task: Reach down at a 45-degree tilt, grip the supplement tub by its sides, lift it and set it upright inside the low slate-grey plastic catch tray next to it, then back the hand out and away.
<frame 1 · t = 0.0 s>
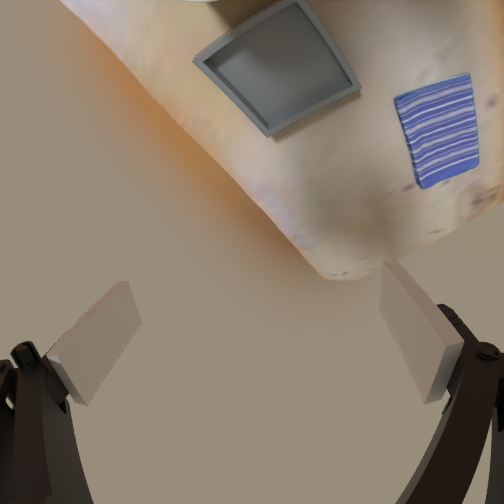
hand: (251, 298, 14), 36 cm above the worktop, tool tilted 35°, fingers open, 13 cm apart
catch tray: (279, 62, 35), on the worktop
dish towel: (441, 131, 42), on the worktop
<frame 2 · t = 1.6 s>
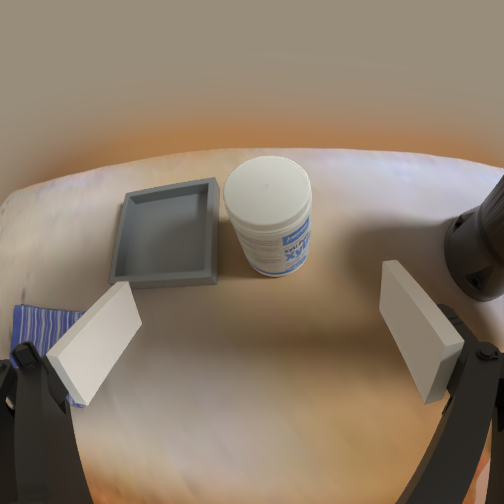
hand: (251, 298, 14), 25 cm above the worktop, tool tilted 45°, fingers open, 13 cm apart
supplement tub: (277, 248, 43), on the worktop
catch tray: (168, 238, 46), on the worktop
dish towel: (47, 351, 42), on the worktop
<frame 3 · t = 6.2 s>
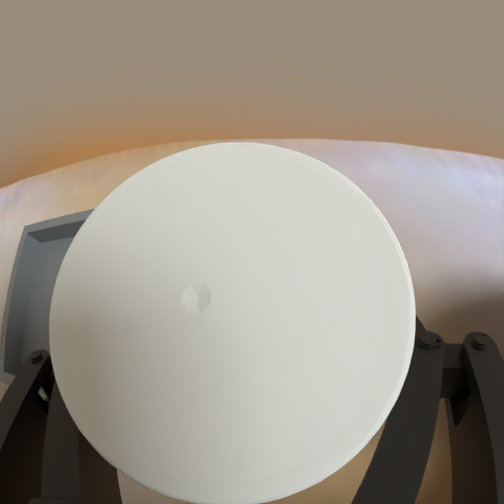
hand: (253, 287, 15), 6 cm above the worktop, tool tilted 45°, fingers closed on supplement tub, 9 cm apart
supplement tub: (267, 355, 19), on the worktop, touching gripper
catch tray: (76, 310, 23), on the worktop
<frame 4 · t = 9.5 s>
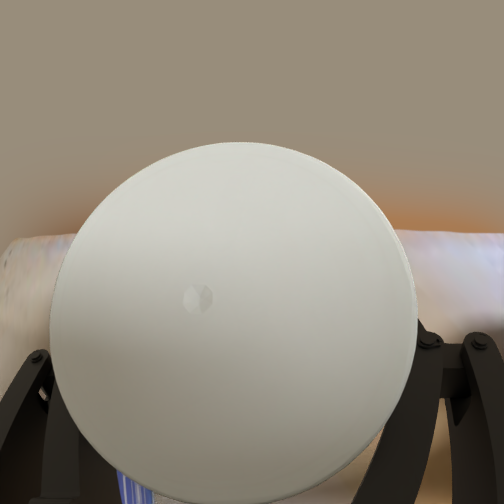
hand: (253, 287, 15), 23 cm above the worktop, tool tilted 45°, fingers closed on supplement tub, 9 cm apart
supplement tub: (268, 355, 19), point 17 cm above the worktop, touching gripper
dish towel: (95, 461, 32), on the worktop
when the fingers open (8 cm above the worktop, at t = 13.0 s): supplement tub drops 1 cm, resting on catch tray.
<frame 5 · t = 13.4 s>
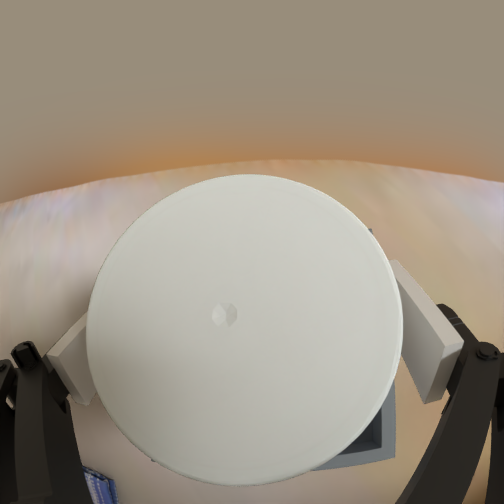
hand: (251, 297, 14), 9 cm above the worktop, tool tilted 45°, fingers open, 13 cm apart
supplement tub: (272, 357, 20), point 1 cm above the worktop, touching catch tray
catch tray: (270, 357, 21), on the worktop
dish towel: (49, 497, 16), on the worktop
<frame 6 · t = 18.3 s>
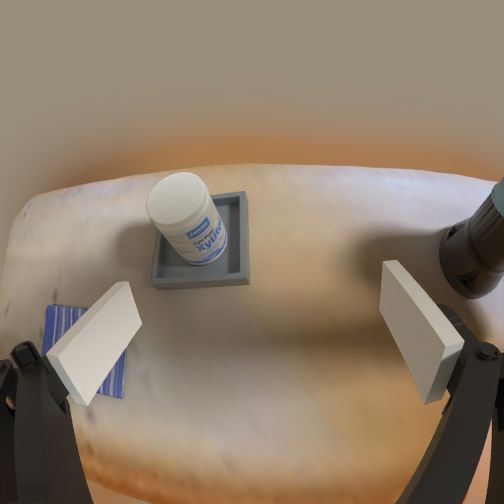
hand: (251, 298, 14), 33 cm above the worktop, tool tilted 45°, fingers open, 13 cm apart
supplement tub: (204, 242, 53), point 1 cm above the worktop, touching catch tray
catch tray: (203, 243, 53), on the worktop
dish towel: (83, 348, 49), on the worktop
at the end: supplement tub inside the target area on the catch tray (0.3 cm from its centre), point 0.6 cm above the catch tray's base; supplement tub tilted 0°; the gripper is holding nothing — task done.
